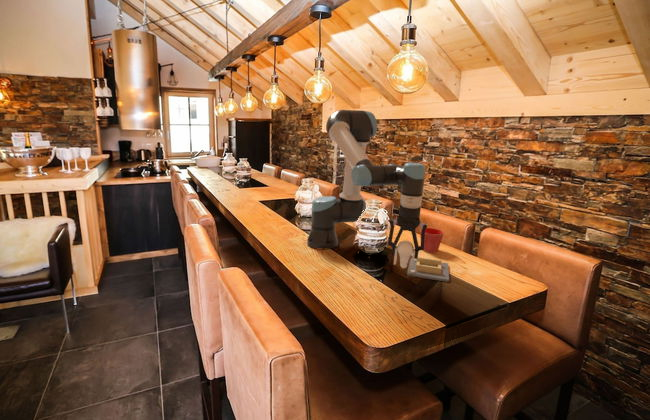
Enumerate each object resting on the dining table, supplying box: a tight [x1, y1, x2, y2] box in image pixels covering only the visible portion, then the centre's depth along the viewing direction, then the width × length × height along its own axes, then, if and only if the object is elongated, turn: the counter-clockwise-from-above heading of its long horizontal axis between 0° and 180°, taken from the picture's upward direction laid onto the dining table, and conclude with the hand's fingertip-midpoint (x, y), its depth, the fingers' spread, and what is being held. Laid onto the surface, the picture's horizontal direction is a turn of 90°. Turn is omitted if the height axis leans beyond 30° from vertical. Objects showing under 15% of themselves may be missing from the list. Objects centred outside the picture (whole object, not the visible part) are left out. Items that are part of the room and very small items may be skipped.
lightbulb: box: [396, 240, 415, 269], centre depth 135 cm, size 6×6×11 cm
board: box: [406, 256, 450, 283], centre depth 149 cm, size 16×18×4 cm
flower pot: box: [419, 227, 444, 253], centre depth 173 cm, size 11×11×10 cm
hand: (403, 264), depth 136 cm, fingers closed on lightbulb, 6 cm apart
